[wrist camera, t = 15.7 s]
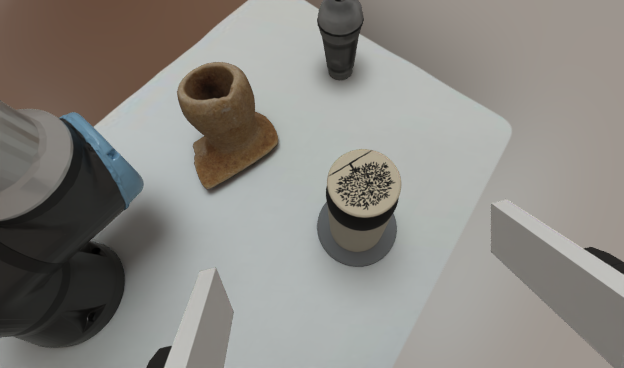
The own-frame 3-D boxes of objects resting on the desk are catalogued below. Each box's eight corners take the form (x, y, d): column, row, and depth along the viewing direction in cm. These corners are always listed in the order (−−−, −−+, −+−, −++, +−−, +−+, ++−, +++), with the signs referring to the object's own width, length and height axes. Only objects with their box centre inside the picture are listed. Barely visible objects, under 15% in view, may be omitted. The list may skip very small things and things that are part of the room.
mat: (327, 274, 48) (327, 274, 47) (310, 199, 52) (310, 198, 52) (406, 256, 48) (407, 255, 47) (382, 182, 53) (383, 181, 52)
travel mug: (392, 239, 48) (419, 199, 32) (343, 261, 48) (344, 232, 31) (367, 193, 51) (380, 135, 35) (321, 213, 51) (312, 164, 34)
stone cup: (255, 102, 61) (229, 39, 47) (288, 148, 56) (270, 93, 43) (182, 144, 59) (133, 90, 45) (210, 195, 54) (166, 153, 40)
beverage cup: (346, 49, 64) (348, -60, 45) (367, 74, 61) (378, -31, 42) (314, 66, 63) (302, -38, 44) (334, 92, 60) (331, -8, 42)
